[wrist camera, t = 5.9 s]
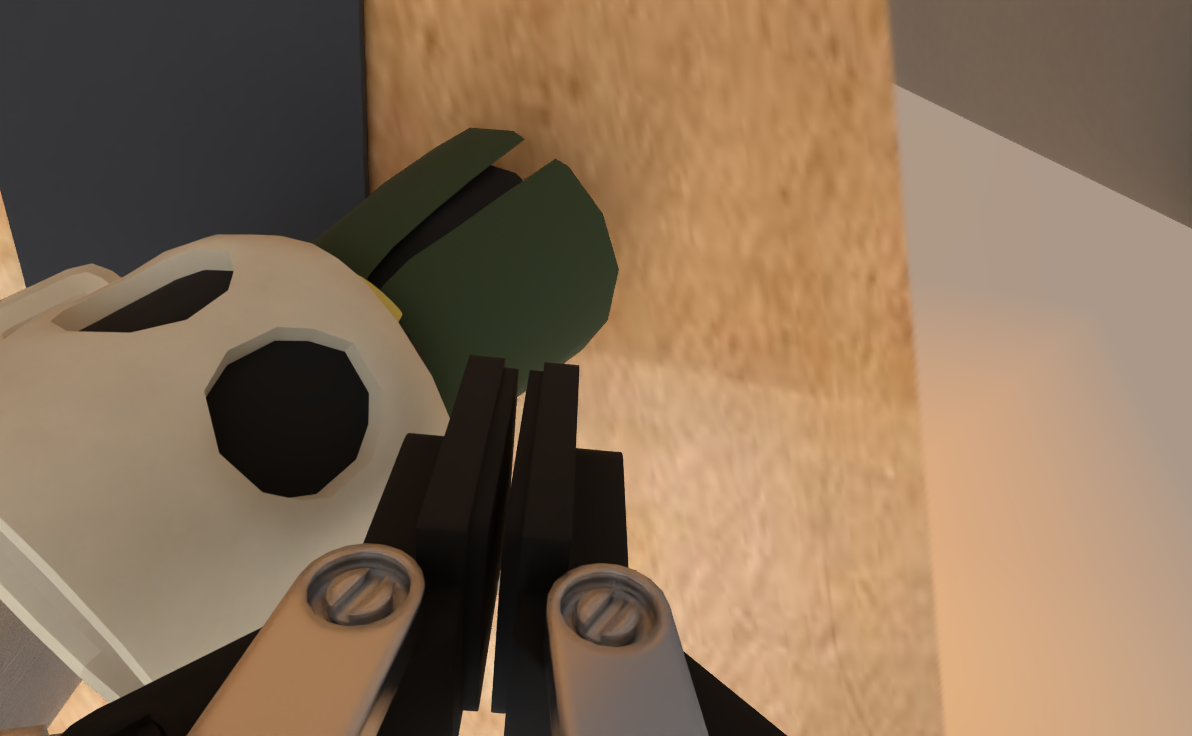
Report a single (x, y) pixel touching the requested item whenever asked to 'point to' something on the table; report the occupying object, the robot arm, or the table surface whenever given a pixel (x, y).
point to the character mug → (264, 398)
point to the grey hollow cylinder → (30, 676)
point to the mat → (176, 125)
